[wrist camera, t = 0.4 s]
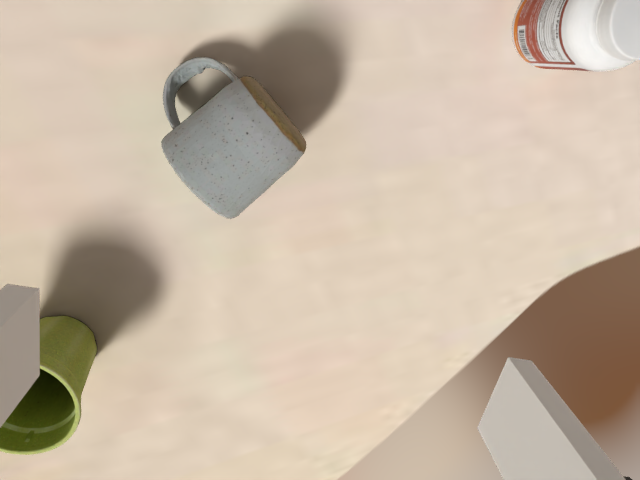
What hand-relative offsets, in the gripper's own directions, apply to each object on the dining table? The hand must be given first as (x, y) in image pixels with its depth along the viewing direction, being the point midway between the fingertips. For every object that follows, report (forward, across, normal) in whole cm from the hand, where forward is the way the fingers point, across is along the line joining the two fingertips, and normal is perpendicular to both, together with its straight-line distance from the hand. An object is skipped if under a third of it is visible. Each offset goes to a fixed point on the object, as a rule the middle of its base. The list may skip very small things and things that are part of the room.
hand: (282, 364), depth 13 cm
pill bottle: (+27, +18, +14) cm, 36 cm away
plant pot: (+27, -17, -21) cm, 38 cm away
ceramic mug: (+28, -5, +2) cm, 28 cm away
